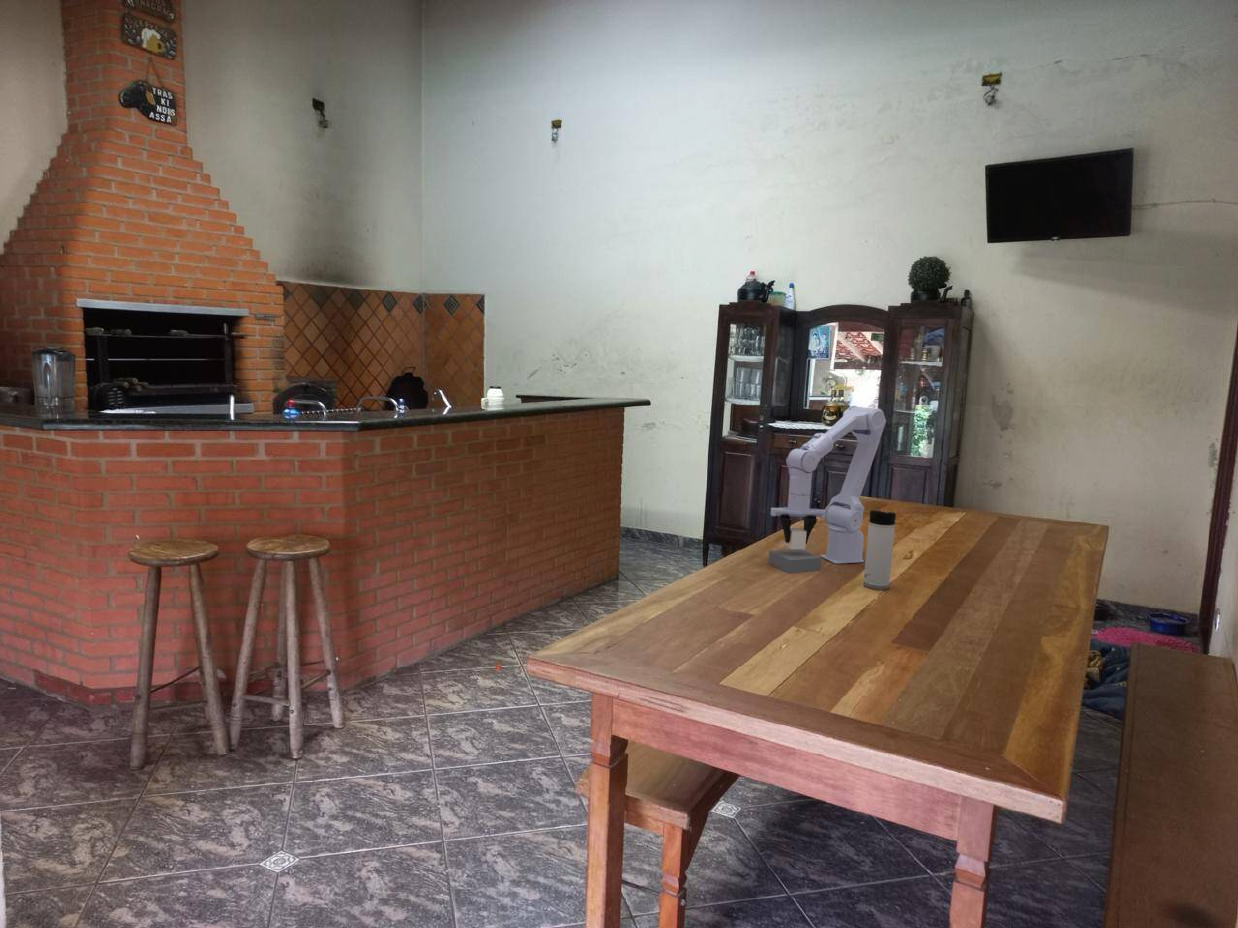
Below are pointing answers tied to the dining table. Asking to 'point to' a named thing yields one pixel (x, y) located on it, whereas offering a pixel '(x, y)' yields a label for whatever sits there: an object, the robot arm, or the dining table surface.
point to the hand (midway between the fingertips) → (795, 542)
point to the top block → (797, 538)
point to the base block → (794, 560)
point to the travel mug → (879, 550)
